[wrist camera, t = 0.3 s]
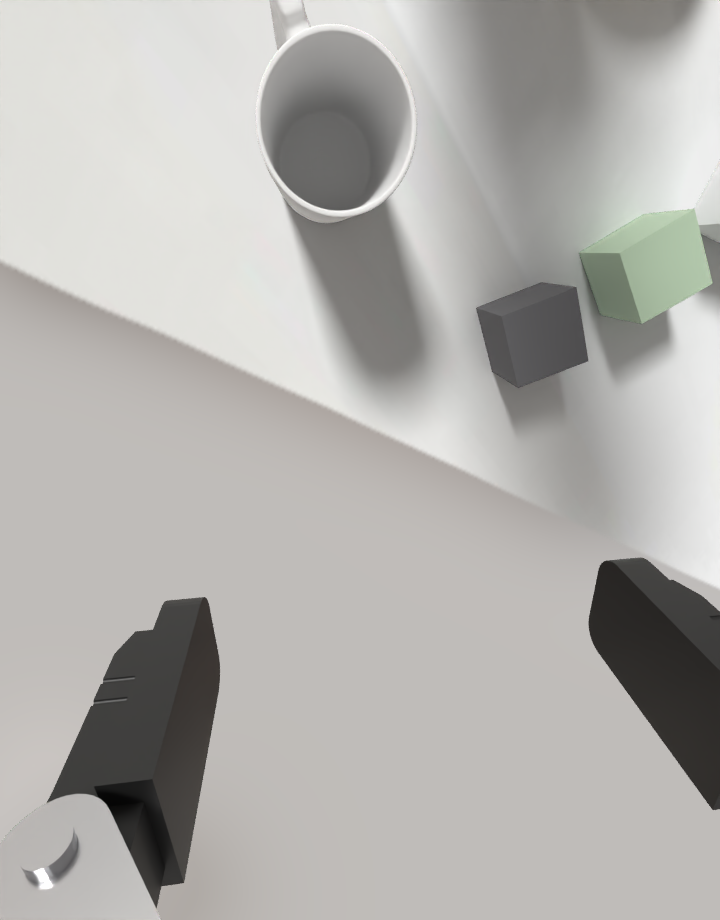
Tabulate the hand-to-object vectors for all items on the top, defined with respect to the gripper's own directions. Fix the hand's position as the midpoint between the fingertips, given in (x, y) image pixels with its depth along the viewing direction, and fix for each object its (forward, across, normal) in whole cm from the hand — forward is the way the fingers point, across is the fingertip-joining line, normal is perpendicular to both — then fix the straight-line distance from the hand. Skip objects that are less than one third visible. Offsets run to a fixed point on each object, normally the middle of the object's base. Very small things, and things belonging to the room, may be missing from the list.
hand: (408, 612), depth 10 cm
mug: (+29, 0, -13) cm, 31 cm away
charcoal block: (+28, -14, -1) cm, 32 cm away
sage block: (+29, -21, -5) cm, 36 cm away
